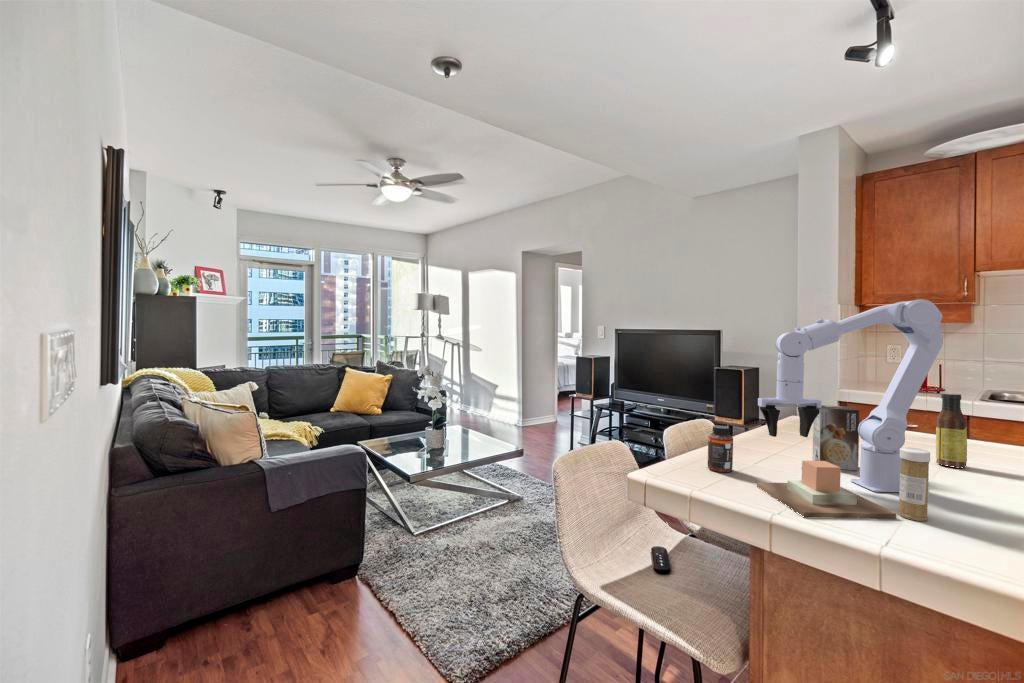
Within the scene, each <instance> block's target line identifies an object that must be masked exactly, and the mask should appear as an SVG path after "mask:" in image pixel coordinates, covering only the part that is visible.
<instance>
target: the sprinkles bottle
mask: <svg viewBox="0 0 1024 683" xmlns="http://www.w3.org/2000/svg"><path fill="white" fill-rule="evenodd" d="M900 457H901V458H900V459H901V472H900V490H899V492H898V493H899V494H898V495H899V496H898V498H899V503H898V505H899V506H898V509H899V510H898V512H897V513H898V515H899V516H901V517H902V518H905V519H908V520H911V521H917V522H925V521H928V519H929V516H928V506H929V493H930V492H929V489H930V488H929V476H930V475H929V473H930V472H929V468H930V466H929V465H930V462H931V452H930V451H928V450H926V449H922V448H917V447H909V446H908V447H907V446H906V447H901V448H900Z"/></svg>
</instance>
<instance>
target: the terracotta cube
mask: <svg viewBox="0 0 1024 683" xmlns="http://www.w3.org/2000/svg"><path fill="white" fill-rule="evenodd" d="M841 470H842V469H841V468H840V467H838V466H836V465H834V464H831V463H829V462H827V461H812V460H802V461H801V481H802V484H804V485H806V486H808V487H810V488H811V489H813V490H815V491H840V487H841V474H842V473H841Z"/></svg>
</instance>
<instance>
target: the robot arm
mask: <svg viewBox="0 0 1024 683" xmlns="http://www.w3.org/2000/svg"><path fill="white" fill-rule="evenodd" d="M943 317H944V316H943V314H942V313H941V311H940V309H939V308H938V307H937V306H936V305H935V303H933V302H932V301H930V300H928V299H923V298H922V299H921V298H920V299H914V300H908V301H906V300H905V301H904V300H903V301H897V302H895V303H890V304H885V305H884V304H883V305H881V306H877V307H872V308H869V309H868V310H865V311H863V312H859V313H857V314H855V315H852V316H849V317H847V318H846V317H845V318H844V319H841V320H838V321H833V320H831V319H828V318H827V319H824V320H823V318H820V319H817V320H815V321H814V322H815V323H813V324H809V325H806V326H804V327H799V326H798V327H795V328H794V331H790V332H785V333H782V334H781V335H779V336H778V338H777V339H776V341H775V343H774V346H775V349H776V352H777V362H776V392H775V393H776V396H775V397H758V398H757V406H758V407H759V410H760V412H761V413H762V415H763V418H764V420H765V422H766V425H767V432H768V435H769V436H771V437H775V438H776V437H777V436H778V421H779V416H780V413H781V410H780V409H777V407H779V408H781V407H783V408H784V407H785V408H791V407H792V408H797V412H798V416H799V417H798V418H799V435H800V436H801V437H803V438H808V437H809V434H810V432H811V428H812V427H813V422H814V420H815V418H816V417H817V416H818V414H819V412H820V409H817V408H821V405H822V400H821V399H819V398H805V397H804V385H805V384H804V381H805V380H804V379H805V377H804V376H805V362H804V361H805V353H806V352H807V351H813V350H815V349H818V348H819V349H820V348H822V347H825V346H828V345H831V344H834V343H838V342H839V340H840V338H841V337H842V335H844V334H847V333H850V332H854V331H857V330H860V329H863V328H864V329H865V328H867V327H871V326H874V325H877V324H882V325H892V326H893V327H895V329H897V330H898V331H899V332H901V333H902V335H903V336H904V338H905V339H906V340H907V342H908V344H909V346H908V348H907V350H906V352H905V353H904V355H903V358H902V359H901V362H900V364H899V366H898V367H897V369H896V372H895V373H894V375H893V377H892V379H891V381H890V382H889V385H888V387H887V389H886V391H885V393H884V395H883V396H882V398H881V400H880V402H879V404H878V406H876V407H875V408H873V409H872V410H871V411H870V413H869V415H868V416H867V417H866V418H865V419H863V420H862V421H861V422H859V426H858V433H859V438H860V439H861V440H862V443H861V444H860V458H859V460H860V461H859V462H860V463H859V465H860V466H859V478H851V479H850V482H852V483H854V484H857V485H858V486H861V487H863V488H864V489H867V490H870V491H872V492H874V493H899V490H900V472H901V459H900V458H901V457H900V449H901V448H903V446H904V445H905V443H906V435H905V434H906V433H905V432H906V430H907V428H908V426H909V425H908V420H907V415H908V412H909V410H910V408H911V406H912V405H913V402H914V401H915V399H916V397H917V395H918V393H919V392H920V389H921V387H922V385H923V383H924V382H925V380H926V378H927V375H928V373H929V372H930V370H931V368H932V366H933V364H934V363H935V360H936V358H937V357H938V355H939V353H940V351H941V349H942V347H943V343H944V341H943V333H942V324H941V321H942V319H943Z"/></svg>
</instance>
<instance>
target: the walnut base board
mask: <svg viewBox="0 0 1024 683" xmlns="http://www.w3.org/2000/svg"><path fill="white" fill-rule="evenodd" d="M756 487H757V488H758V487H759V488H758V489H760V488H761V489H762V490H761V489H760V490H761V491H763V490H764V491H765V492H764V491H763V492H764V493H766V492H767V493H768V494H767V493H766V494H767V495H769V494H770V495H771V497H772V496H773V497H775V498H776V499H778V500H779V501H781V502H782V503H784V504H786V505H787V506H789V507H790V508H792V509H793V510H795V511H796V512H798V513H799V514H801V515H802V516H804V517H803V518H808V517H833V518H832V519H876V520H877V519H878V520H879V519H880V520H881V519H883V520H884V519H885V520H886V519H887V520H896V519H897V513H896V512H893V511H892V510H889V509H887V508H885V507H883V506H881V505H879V504H877V503H875V502H873V501H872V500H869V499H867V498H865V497H863V496H860V495H858V494H857V493H854V492H852V491H851V490H849V489H847V488H844V487H842V486H840V491H815V490H813V489H811V488H810V487H808V486H806V485H804V484H802V480H791V479H789V480H787V482H766V481H765V482H763V481H762V482H760V481H759V482H758V481H756ZM770 495H769V496H770ZM773 497H772V498H773ZM775 498H774V499H775ZM776 499H775V500H776ZM778 500H777V501H778ZM779 501H778V502H779ZM781 502H780V503H781ZM782 503H781V504H782ZM784 504H783V505H784ZM787 506H786V507H787ZM790 508H789V509H790ZM792 509H791V510H792ZM793 510H792V511H793ZM795 511H794V512H795ZM796 512H795V513H796ZM798 513H797V514H798ZM799 514H798V515H799ZM801 515H800V516H801ZM802 516H801V517H802Z"/></svg>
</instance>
